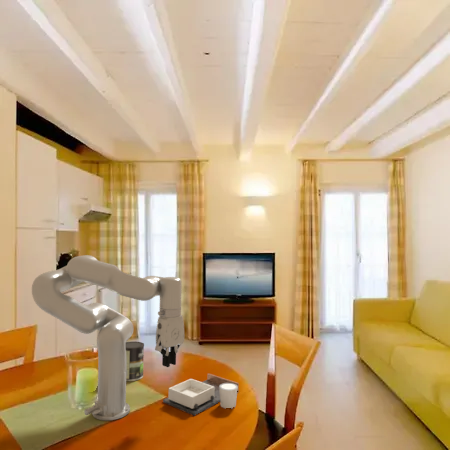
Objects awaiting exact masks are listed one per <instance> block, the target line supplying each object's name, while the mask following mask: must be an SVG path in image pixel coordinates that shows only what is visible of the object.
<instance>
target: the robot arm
mask: <svg viewBox="0 0 450 450" xmlns="http://www.w3.org/2000/svg"><path fill="white" fill-rule="evenodd" d="M81 283H85V284H86V283H87V284H90V285H94V286H97V287H100V288H101V287H102V288H105V289H107V290H109V291H111V292H113V293H116V294H117V295H120V296H122V297H126V298H129V299H134V300H136V301H141V302H143V301H144V302H146V301H150V300H152V299H153V298H154V297H157V296H159V311H158V312H157V315H158V318H157V322H156V323H157V324H156V331H155V347H154V350H155V351H157V352H159V353H160V355H162V366H163V367H165V368H170V366H171V365H173V366H174V365H175V366H176V364H177V353H178V352H179V351H178V350H179V348H180V346H182V344H183V343H184V342H185V324H184V317H183V315H182V280H181V278H179V277H176V276H167V277H166V276H165V277H164V276H163V277H162V276H156V275H148V276H145V277H140V276H139V277H138V276H136V275H132V274H128V273H126V272H124V271H123V270H121V269H120V268H119V267H118V266H117V265H115V264H112V263H107V262H104V261H101V260H98V259H97V258H96V257H95V256H93V255H91V254H89V255H88V254H86V255H85V254H84V255H78V256H74V257H73V258H71V259H70V260H69V261H68V262H67V265H65V266H63V267H61V268H59V269H55V270H51V271H46V272H43V273H40V274H39V275H38V276H37V277H36V278H35V279H34V280H33V282H32V285H31V296H32V299H33V301H34V302H35V304H36V306H37V307H38V308H39V309H41V310H42V311H43V312H45V313H47V314H48V315H50V316H51V317H54V318H56V319H58V320H59V321H61V322H62V323H64V324H66V325H67V326H69V327H71V328H72V329H74V330H76V331H77V332H80V333H81V334H85V335H88V334H89V335H90V334H92V333H93V332H95V331H98V334H97V337H96V338H97V339H96V345H97V347H96V348H97V353H98V354H97V355H98V361H97V362H98V367H97V369H98V371H97V373H98V374H97V400H96V401H94V405H92V406H91V407H88V408H86V409H84V410H83V412H84V415H85V416H88V415H91V414H92V416H93V418H95V419H97V420H100V421H113V420H114V421H115V420H118V419H119V420H120V419H122V418H123V417H125V416H127V415H128V414H129V413H130V411H131V406H130V405H129V403H128V402H127V401H126V399H127V381H126V361H127V360H126V348H125V344H126V342H128V340H129V339H130V338H131V337H132V335H133V334H134V324H133V322H132V321H131V320H130V318H128V317H127V316H125V315H124V314H123V313H120V312H118V311H117V310H115V309H113V308H111V307H110V306H108V305H107V304H104V303H101V302H93V303H92V302H91V303H89V304H86V303H83V302H81V301H80V300H77V299H76V298H74V297H72V296H69V295H66V294H64V293H63V292H66V291H68V290H70V289H72V288H74V287H76V286H77V285H78V286H79V285H80V284H81Z"/></svg>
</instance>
